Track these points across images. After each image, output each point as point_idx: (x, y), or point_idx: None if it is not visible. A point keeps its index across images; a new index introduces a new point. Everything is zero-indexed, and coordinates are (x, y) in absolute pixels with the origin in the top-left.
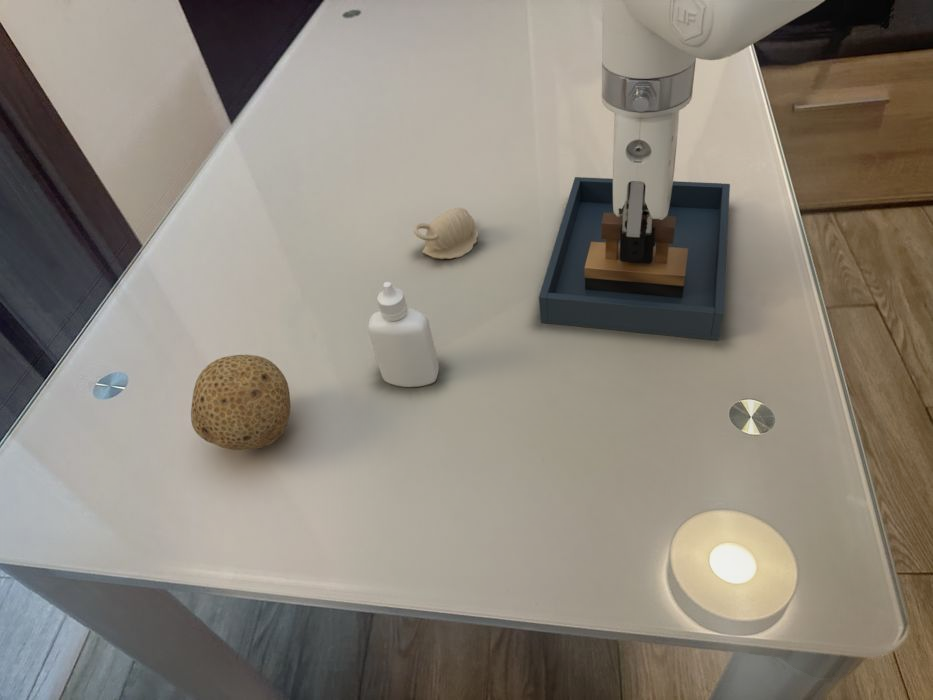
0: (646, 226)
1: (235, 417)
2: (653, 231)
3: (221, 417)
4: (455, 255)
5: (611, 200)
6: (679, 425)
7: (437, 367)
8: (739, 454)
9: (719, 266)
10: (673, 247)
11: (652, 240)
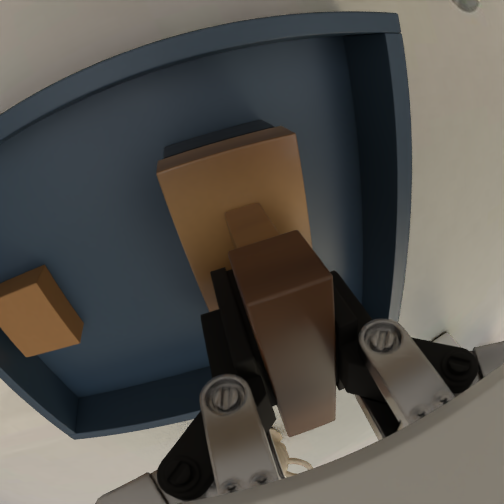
0: (470, 359)
1: None
2: (355, 322)
3: None
4: (269, 430)
5: (46, 371)
6: (491, 75)
7: (444, 342)
8: (499, 9)
9: (204, 48)
10: (172, 215)
11: (339, 296)
